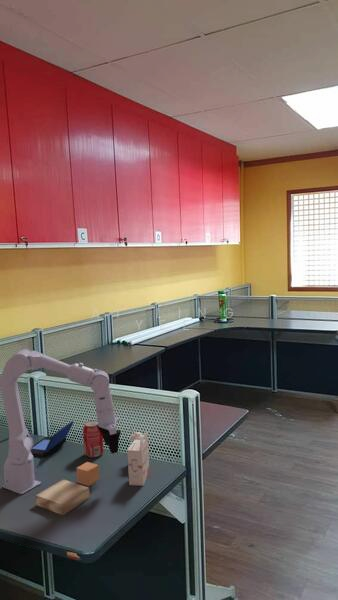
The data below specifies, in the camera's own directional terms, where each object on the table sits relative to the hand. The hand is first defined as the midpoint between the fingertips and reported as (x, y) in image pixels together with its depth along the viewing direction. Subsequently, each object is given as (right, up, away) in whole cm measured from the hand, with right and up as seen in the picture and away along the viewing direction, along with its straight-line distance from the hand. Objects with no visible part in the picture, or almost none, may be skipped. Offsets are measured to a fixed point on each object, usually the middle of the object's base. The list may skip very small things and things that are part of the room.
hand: (111, 448), depth 150 cm
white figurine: (+8, -9, +12) cm, 17 cm away
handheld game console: (-27, -9, +27) cm, 39 cm away
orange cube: (-8, -11, 0) cm, 13 cm away
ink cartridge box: (+9, -10, 0) cm, 14 cm away
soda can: (-9, -9, +20) cm, 23 cm away
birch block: (-13, -12, -12) cm, 22 cm away
